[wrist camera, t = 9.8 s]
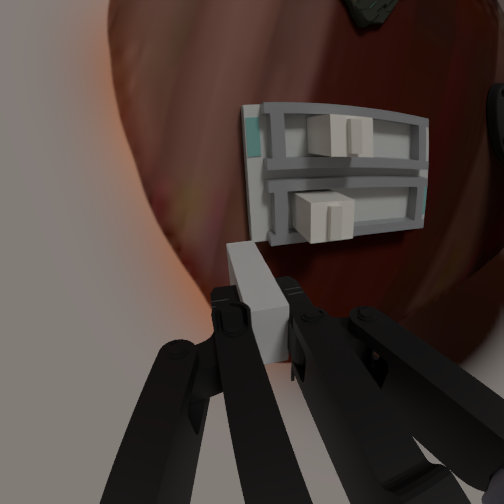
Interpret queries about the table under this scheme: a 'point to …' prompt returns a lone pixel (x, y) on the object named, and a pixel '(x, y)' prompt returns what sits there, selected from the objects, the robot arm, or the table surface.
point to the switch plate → (332, 169)
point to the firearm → (370, 11)
